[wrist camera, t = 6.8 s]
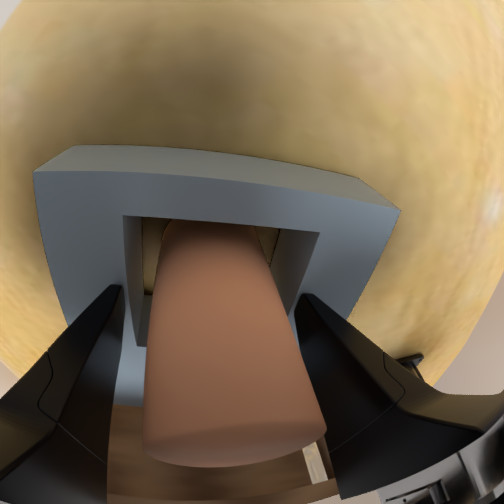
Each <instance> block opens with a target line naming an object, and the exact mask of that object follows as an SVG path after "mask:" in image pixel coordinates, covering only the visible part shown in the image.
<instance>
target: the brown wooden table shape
mask: <svg viewBox="0 0 504 504" xmlns="http://www.w3.org/2000/svg"><path fill="white" fill-rule="evenodd" d="M316 444H317V447H318V450H319V453H320V456H321V459H322V463H323V466H324V469H325V472H326V475H327V478H328V480H326V481H323V482H319V483H316V484H312V481H311V477H310V474H309V471H308V467H307V464H306V461H305V457H304V454H303V450H302V449H300V450H298V451H296V452H293V453H291V454H288V455H285V456H282V457H279V458H275V459H271V460H267V461H263V462H258V463H253V464H247V465H240V466H231V467H190V466H181V465H175V464H170V463H166V462H162V461H159V460H156V459H154V458H152V457H150V456H148V455H147V454H146V453H145V452H144V451H143V407H136V406H127V405H118V404H113V408H112V416H111V426H110V436H109V448H108V464H107V466H108V468H107V504H307V503H311V502H315V501H318V500H322V499H325V498H328V497H331V496H334V495H337V494H339V491H338V487H337V483H336V479H335V475H334V472H333V468H332V464H331V460H330V457H329V452H328V449H327V445H326V441H325V438H324V435H323V436H322V437H321V438H320V439H318V440H317V441H316Z"/></svg>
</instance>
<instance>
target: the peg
mask: <svg viewBox="0 0 504 504" xmlns="http://www.w3.org/2000/svg"><path fill="white" fill-rule="evenodd" d="M326 430H327V427H326V424H325V421H324V418H323V415H322V413H321V410H320V407H319V404H318V401H317V398H316V395H315V393H314V390H313V387H312V384H311V381H310V378H309V376H308V373H307V370H306V367H305V364H304V362H303V359H302V356H301V353H300V350H299V348H298V345H297V342H296V339H295V336H294V334H293V331H292V328H291V325H290V323H289V320H288V317H287V314H286V312H285V309H284V306H283V303H282V301H281V298H280V295H279V292H278V290H277V287H276V284H275V282H274V279H273V276H272V273H271V271H270V268H269V265H268V263H267V260H266V257H265V255H264V252H263V249H262V246H261V244H260V241H259V238H258V236H257V233H256V230H255V228H254V226H253V225H244V224H233V223H222V222H210V221H198V220H185V219H172V220H171V222H170V223H169V224H168V226H167V227H166V229H165V231H164V234H163V237H162V242H161V247H160V253H159V259H158V264H157V270H156V277H155V283H154V290H153V297H152V304H151V312H150V320H149V329H148V339H147V349H146V361H145V375H144V394H143V451H144V452H145V453H146V454H147V455H148V456H150V457H152V458H154V459H156V460H159V461H162V462H166V463H170V464H175V465H181V466H190V467H231V466H240V465H247V464H253V463H258V462H263V461H267V460H271V459H275V458H279V457H282V456H285V455H288V454H291V453H293V452H296V451H298V450H300V449H303V448H305V447H307V446H309V445H310V444H312V443H314V442H315V441H317V440H318V439H320V438H321V437H322V436H323V435H324V434H325V432H326Z"/></svg>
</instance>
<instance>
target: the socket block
mask: <svg viewBox="0 0 504 504" xmlns="http://www.w3.org/2000/svg"><path fill="white" fill-rule="evenodd" d="M33 182H34V191H35V199H36V207H37V213H38V219H39V225H40V230H41V235H42V240H43V245H44V249H45V254H46V258H47V262H48V266H49V269H50V273H51V277H52V280H53V284H54V287H55V290H56V293H57V296H58V299H59V302H60V305H61V308H62V311H63V314H64V317H65V319H66V322H67V325H68V326H69V325H70V324H71V323H72V322H73V321H74V320H75V319H76V318H77V317H78V316H79V315H80V314H81V313H82V312H83V311H84V310H85V309H86V308H87V307H88V306H89V305H90V304H91V303H92V302H93V301H94V300H95V299H96V298H97V297H98V296H99V295H100V294H101V293H102V292H103V291H104V290H105V289H106V288H107V287H108V286H109V285H110V284H119V285H122V286H123V289H124V296H125V303H126V310H125V319H124V330H123V341H122V351H121V358H120V363H119V369H118V374H117V380H116V387H115V393H114V401H113V404H118V405H127V406H136V407H143V394H144V375H145V361H146V349H147V339H148V329H149V320H150V312H151V304H152V297H153V296H152V295H144V286H143V268H142V232H141V216H143V217H158V218H172V219H185V220H198V221H210V222H222V223H233V224H244V225H254V226H265V227H275V228H281V230H280V234H279V237H278V241H277V244H276V248H275V251H274V255H273V258H272V261H271V265H270V271H271V273H272V276H273V279H274V282H275V284H276V287H277V290H278V292H279V295H280V298H281V301H282V303H283V306H284V309H285V312H286V314H287V317H288V320H289V323H290V325H291V328H292V331H293V334H294V336H295V339H296V342H297V345H298V348H299V342H298V336H297V331H296V325H295V319H294V310H295V307H296V305H297V302H298V300H299V297H300V295H301V294H303V293H313V294H314V295H316V296H317V297H318V298H319V299H321V300H322V301H323V302H324V303H325V304H327V305H328V306H329V307H330V308H332V309H333V310H334V311H335V312H336V313H338V314H339V315H340V316H341V317H343V318H344V319H345V320H347V318H348V316H349V315H350V313H351V311H352V309H353V308H354V306H355V304H356V302H357V301H358V299H359V297H360V295H361V293H362V291H363V290H364V288H365V286H366V284H367V282H368V280H369V278H370V276H371V274H372V272H373V270H374V268H375V266H376V264H377V262H378V260H379V258H380V256H381V254H382V252H383V250H384V248H385V246H386V244H387V241H388V239H389V237H390V235H391V233H392V230H393V228H394V226H395V224H396V221H397V219H398V216H399V214H400V212H401V210H400V209H399V208H397V207H396V206H395V205H394V204H392V203H391V202H390V201H389V200H387V199H386V198H385V197H383V196H382V195H381V194H379V193H378V192H377V191H375V190H374V189H373V188H371V187H370V186H369V185H367V184H366V183H364V182H363V181H362V180H360V179H359V178H355V177H351V176H347V175H343V174H339V173H335V172H330V171H326V170H321V169H317V168H312V167H307V166H302V165H297V164H292V163H286V162H281V161H275V160H269V159H263V158H257V157H250V156H244V155H236V154H229V153H221V152H212V151H203V150H193V149H182V148H169V147H154V146H132V145H74V146H72V147H70V148H69V149H67V150H65V151H64V152H62V153H60V154H59V155H57V156H55V157H54V158H52V159H51V160H49V161H48V162H46V163H45V164H43V165H42V166H40V167H39V168H37V169H36V170H34V171H33ZM299 350H300V348H299Z"/></svg>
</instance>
